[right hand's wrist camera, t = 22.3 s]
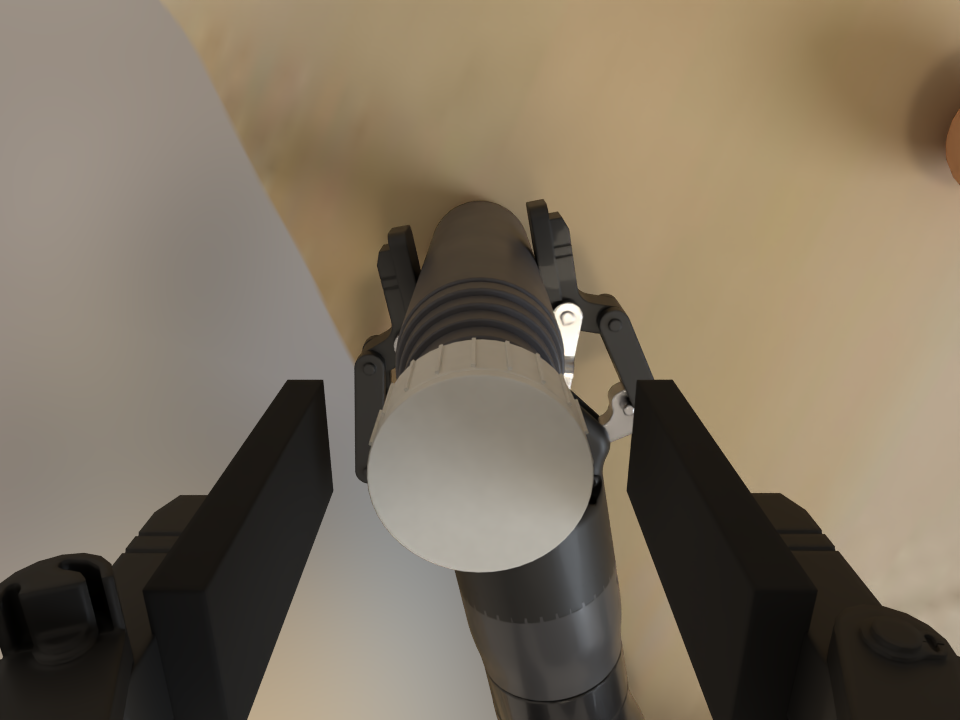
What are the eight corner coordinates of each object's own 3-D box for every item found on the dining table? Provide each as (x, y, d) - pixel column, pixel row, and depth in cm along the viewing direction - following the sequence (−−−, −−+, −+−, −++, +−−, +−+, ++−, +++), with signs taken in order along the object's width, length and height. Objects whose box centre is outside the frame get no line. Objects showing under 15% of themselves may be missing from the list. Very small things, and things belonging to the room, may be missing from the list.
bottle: (412, 258, 33) (316, 478, 14) (471, 180, 32) (458, 301, 12) (487, 315, 34) (497, 595, 15) (548, 242, 33) (647, 444, 13)
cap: (424, 304, 14) (415, 336, 12) (616, 383, 14) (637, 426, 13) (351, 476, 15) (332, 530, 13) (528, 542, 16) (535, 602, 14)
